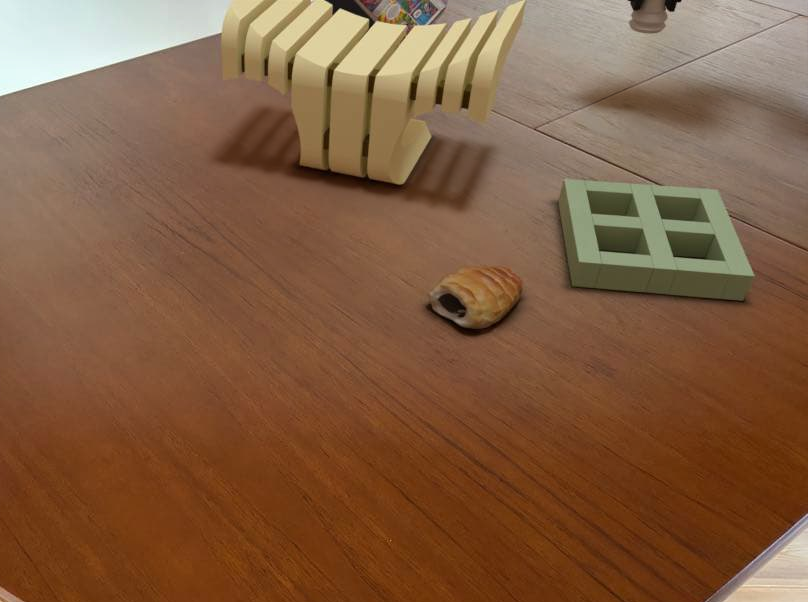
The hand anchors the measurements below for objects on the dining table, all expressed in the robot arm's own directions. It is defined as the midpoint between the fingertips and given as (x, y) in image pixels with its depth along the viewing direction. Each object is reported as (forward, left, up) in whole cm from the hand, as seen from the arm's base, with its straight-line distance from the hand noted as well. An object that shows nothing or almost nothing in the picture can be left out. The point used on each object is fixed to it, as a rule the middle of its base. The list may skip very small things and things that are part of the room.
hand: (652, 6), depth 107 cm
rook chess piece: (0, 0, -3) cm, 3 cm away
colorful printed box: (+34, -9, -13) cm, 37 cm away
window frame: (+3, +35, -13) cm, 37 cm away
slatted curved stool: (+34, +19, -13) cm, 41 cm away
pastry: (+21, +48, -13) cm, 54 cm away
